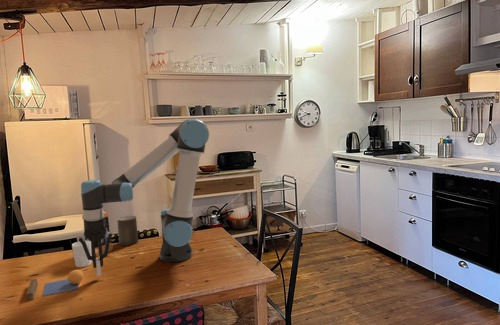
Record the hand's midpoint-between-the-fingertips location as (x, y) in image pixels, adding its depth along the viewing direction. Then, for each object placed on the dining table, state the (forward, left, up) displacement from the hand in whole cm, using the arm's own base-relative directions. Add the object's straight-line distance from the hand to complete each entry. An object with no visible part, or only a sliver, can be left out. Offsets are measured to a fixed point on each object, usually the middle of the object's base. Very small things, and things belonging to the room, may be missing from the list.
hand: (99, 274), depth 151 cm
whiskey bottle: (-1, -35, -2) cm, 35 cm away
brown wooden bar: (+24, 0, -2) cm, 24 cm away
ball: (+9, 0, +1) cm, 9 cm away
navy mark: (+14, 0, -2) cm, 14 cm away
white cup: (+6, -21, -2) cm, 22 cm away
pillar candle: (-16, -42, -2) cm, 45 cm away
